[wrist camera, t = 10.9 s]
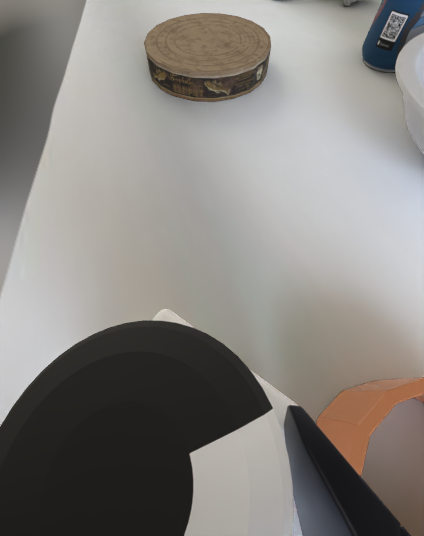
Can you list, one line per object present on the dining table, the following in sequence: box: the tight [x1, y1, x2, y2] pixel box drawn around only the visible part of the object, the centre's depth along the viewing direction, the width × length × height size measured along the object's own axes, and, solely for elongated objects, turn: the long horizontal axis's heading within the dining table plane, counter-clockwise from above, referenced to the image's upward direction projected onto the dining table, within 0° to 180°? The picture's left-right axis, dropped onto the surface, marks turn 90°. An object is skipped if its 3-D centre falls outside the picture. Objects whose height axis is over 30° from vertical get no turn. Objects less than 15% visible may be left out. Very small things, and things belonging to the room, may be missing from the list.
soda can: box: [362, 0, 424, 72], centre depth 29 cm, size 7×7×12 cm
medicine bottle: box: [0, 309, 298, 536], centre depth 9 cm, size 7×7×12 cm
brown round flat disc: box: [144, 13, 271, 101], centre depth 32 cm, size 16×16×3 cm
